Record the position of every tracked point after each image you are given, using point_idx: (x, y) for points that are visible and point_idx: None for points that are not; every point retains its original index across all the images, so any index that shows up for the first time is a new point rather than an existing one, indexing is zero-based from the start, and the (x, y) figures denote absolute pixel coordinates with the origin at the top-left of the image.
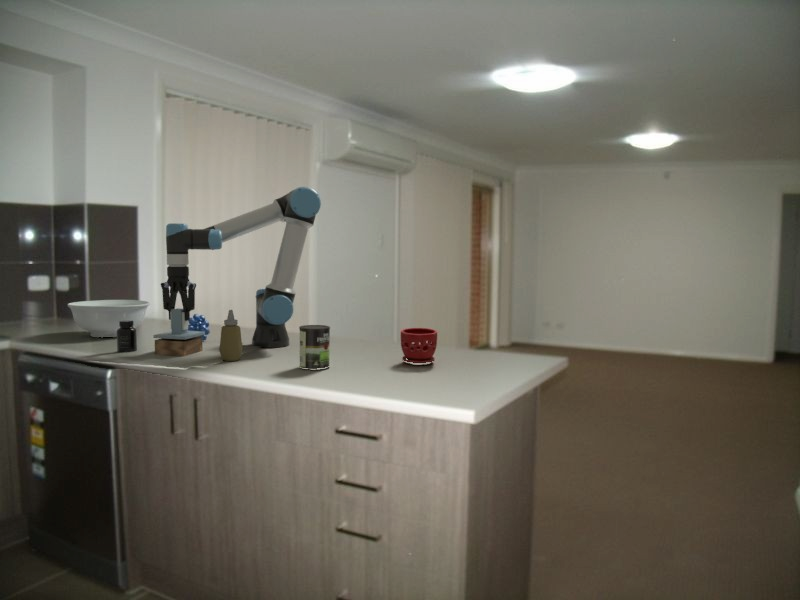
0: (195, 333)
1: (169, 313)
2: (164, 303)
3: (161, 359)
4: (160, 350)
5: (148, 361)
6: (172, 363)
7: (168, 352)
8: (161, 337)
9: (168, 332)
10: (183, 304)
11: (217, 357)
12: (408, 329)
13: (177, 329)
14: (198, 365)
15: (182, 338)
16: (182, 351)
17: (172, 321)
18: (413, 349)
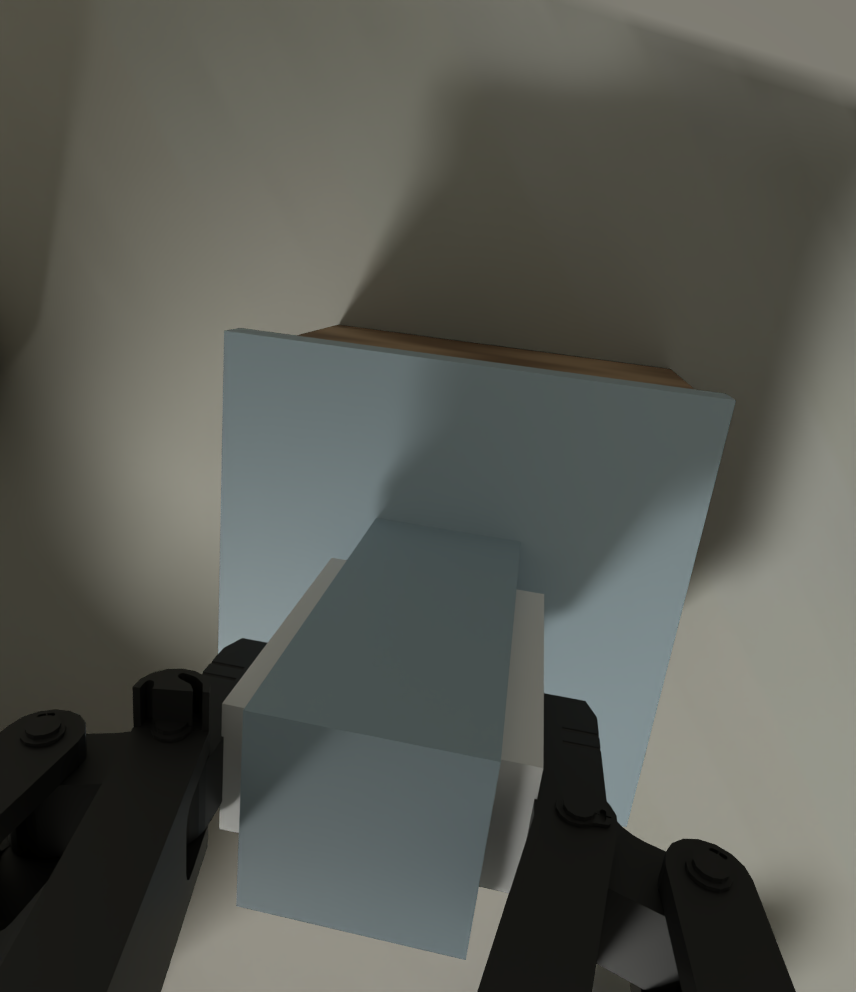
0: (245, 605)
1: (587, 780)
2: (750, 986)
3: (529, 227)
4: (607, 368)
5: (615, 79)
6: (318, 41)
7: (506, 354)
8: (595, 379)
9: (620, 650)
10: (130, 836)
11: (97, 435)
12: None
13: (420, 551)
14: (38, 13)
15: (273, 334)
16: (334, 331)
17: (491, 619)
18: None
